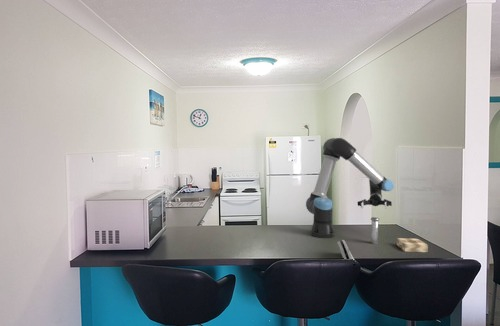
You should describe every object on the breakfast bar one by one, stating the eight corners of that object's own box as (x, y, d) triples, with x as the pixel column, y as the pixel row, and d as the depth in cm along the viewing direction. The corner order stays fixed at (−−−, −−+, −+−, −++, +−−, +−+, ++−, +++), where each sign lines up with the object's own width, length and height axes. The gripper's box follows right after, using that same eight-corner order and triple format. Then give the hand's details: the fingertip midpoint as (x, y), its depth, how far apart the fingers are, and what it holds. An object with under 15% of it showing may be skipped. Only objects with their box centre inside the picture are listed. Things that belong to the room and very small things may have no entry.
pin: (371, 244, 189) (372, 218, 188) (369, 242, 194) (369, 217, 193) (379, 244, 189) (380, 219, 188) (377, 242, 193) (377, 217, 193)
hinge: (356, 264, 155) (349, 245, 155) (347, 267, 156) (340, 248, 156) (350, 253, 172) (344, 236, 172) (342, 256, 172) (335, 238, 172)
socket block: (404, 251, 176) (405, 244, 176) (396, 244, 188) (396, 238, 188) (427, 252, 175) (427, 244, 175) (417, 245, 187) (418, 238, 187)
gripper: (395, 205, 213) (396, 212, 193) (356, 205, 223) (352, 212, 204) (395, 193, 212) (395, 200, 193) (355, 194, 223) (352, 200, 203)
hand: (373, 206), depth 198 cm, fingers open, 13 cm apart
